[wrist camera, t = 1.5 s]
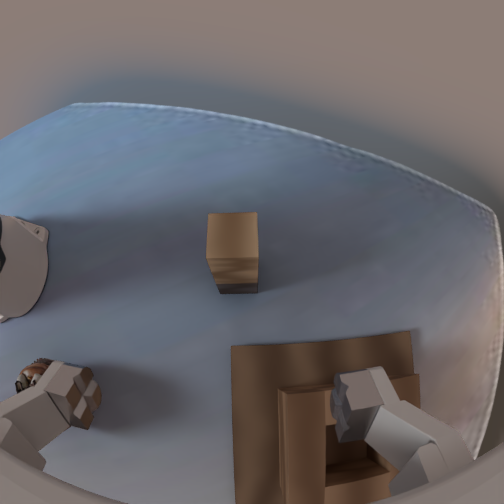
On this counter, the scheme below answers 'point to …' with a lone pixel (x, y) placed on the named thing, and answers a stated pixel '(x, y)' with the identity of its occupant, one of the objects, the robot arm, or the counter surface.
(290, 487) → the post block
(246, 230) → the rail end
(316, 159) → the counter surface
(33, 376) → the cupcake
